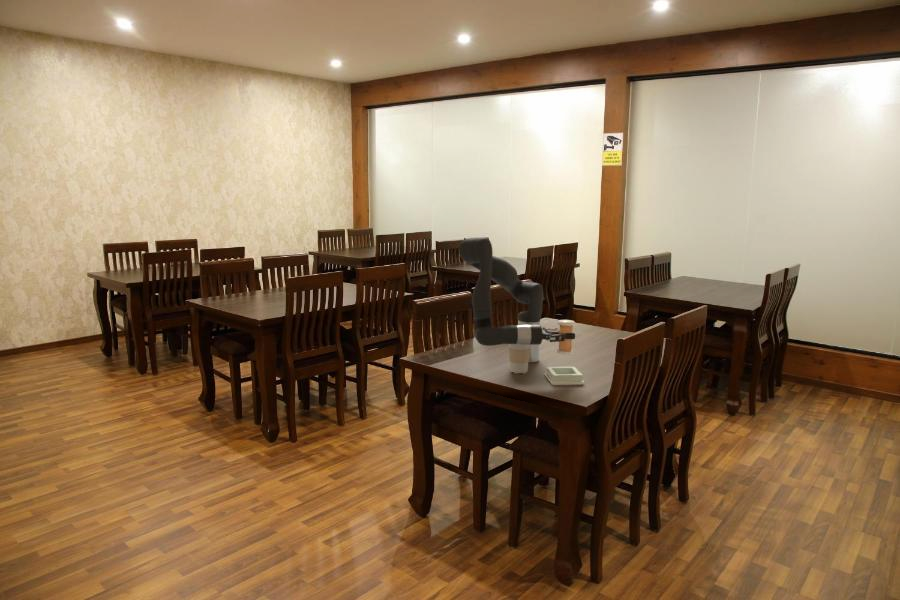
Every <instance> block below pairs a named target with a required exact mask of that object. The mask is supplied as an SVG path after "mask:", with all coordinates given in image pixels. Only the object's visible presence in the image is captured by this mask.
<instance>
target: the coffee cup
mask: <svg viewBox="0 0 900 600" xmlns="http://www.w3.org/2000/svg"><path fill="white" fill-rule="evenodd" d="M530 348H531V347H530V345H521V344H508V355H509V367H510V368H509V371H510V372H511V371H512V372H514V373H513V374H517V373H523V374H527V373H528V368H529V363H530V362H529V356H530ZM512 372H511V373H512ZM526 372H527V373H526Z"/></svg>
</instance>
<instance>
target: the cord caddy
mask: <svg viewBox="0 0 900 600" xmlns="http://www.w3.org/2000/svg"><path fill="white" fill-rule="evenodd" d="M545 369H546V372H544V376H545V378H546V379H547V380H548V381H550V382H549V383H550V384H551V385H552V386H568V385H574V386H575V385H576V386H577V385H585V383H584V382H585V381H584V380H583V376H584V375H583V374H582V372H580V371H579V369H578V368H576V367H575V366H546V368H545Z"/></svg>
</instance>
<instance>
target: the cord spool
mask: <svg viewBox="0 0 900 600" xmlns="http://www.w3.org/2000/svg"><path fill="white" fill-rule="evenodd" d="M575 323H576V322H575V320H571V319H559V320H558V322H557V324H558V325H559V329H560V330H559V333H573V331H574V330H573V329H574V327H573V326H575ZM559 338H561V336H560V337H559ZM572 346H573V339H565V341H559V342H558V348H556V353H557V354H559V355H564V356H565V355H567V356H569V355H573V354H574V350H573V347H572Z"/></svg>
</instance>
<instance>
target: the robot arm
mask: <svg viewBox="0 0 900 600" xmlns="http://www.w3.org/2000/svg"><path fill="white" fill-rule="evenodd" d="M458 252H459V253H458V254H459V256H460V258H461V259H462V261H463V262H464V263H466V264H467V265H470V266H471V267H473V268H475V269H476V270H478V271H479V275H478V279H477V282H476V284H475V286H474V289H473V292H472V297H471V305H472V314H473V335H474V338H475V341H477V343H479V344H480V345H481V346H488V347H489V346H491V347H492V346H499V345H509V344H521V345H530V347H531V348H530V356H529V362H528V363H537V362H539V361H540V345H541V344H542V342H543V340H545V341H547V342H550V343H555V342H556V343H557V342H558V343H559V341H565V339H572V340H575V338H576V334H575V333H574V332H572V333H559V330H560V328H558V327H542V325H541V317H542V314H543V305H544V304H543V303H544V288H543V285H542V284H540V283H537V282H530V281H529V282H528V281H524V280H521V279H519V278H518V277H519V276H518V271H517V269H516V268H515V267H514V266H513V265H512V264H511V263H510V262H508V260H505V259H503V258H501V257H498V256H494V254H493V245H492V242H491V240H490V239H489V238H488V237H484V236H483V237H471V238H470V237H469V238H466V239H463V240H462V241H461V242H460V243H459V246H458ZM492 282H494V283H496V284H497V285H498V286H500V287H501V288H502V289H504V290H506V291H507V292H508V293H509V294H510V295H511V296H512V297H513V299H514V300H516V302H517V303H520V304H524V305H529V306H528V310H525V311H520V312H519V313H518V315H517V316H518V320H517V324H516V325H515V324H514V325H512V324H510V325H509V324H508V325H502V326H497V327H496V326H492V317H493V316H492V315H493V309H492V307H493V306H492V297H491V295H492V293H491V286H492ZM560 336H561V338H559V337H560Z"/></svg>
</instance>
